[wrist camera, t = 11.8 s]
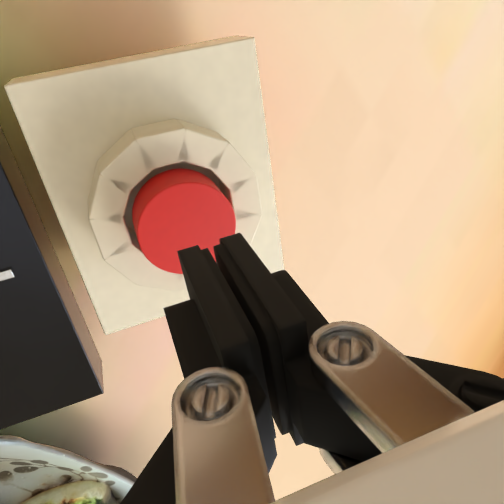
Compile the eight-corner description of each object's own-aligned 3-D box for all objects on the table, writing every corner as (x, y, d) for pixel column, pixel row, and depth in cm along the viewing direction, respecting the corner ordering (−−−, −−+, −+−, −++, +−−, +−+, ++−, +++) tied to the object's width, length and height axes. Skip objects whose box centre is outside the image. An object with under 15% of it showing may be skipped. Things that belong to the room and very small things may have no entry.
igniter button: (119, 181, 16) (123, 197, 15) (214, 157, 17) (227, 170, 15) (146, 264, 18) (152, 286, 16) (230, 239, 19) (243, 258, 17)
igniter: (11, 78, 17) (-6, 92, 13) (237, 35, 19) (272, 38, 15) (103, 309, 22) (107, 361, 19) (269, 257, 24) (300, 296, 21)
